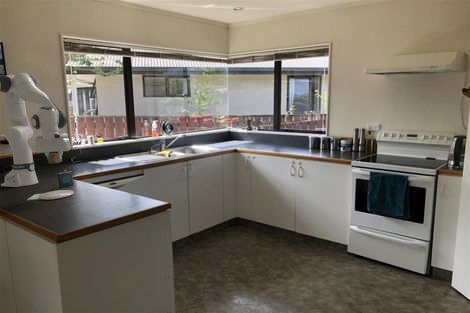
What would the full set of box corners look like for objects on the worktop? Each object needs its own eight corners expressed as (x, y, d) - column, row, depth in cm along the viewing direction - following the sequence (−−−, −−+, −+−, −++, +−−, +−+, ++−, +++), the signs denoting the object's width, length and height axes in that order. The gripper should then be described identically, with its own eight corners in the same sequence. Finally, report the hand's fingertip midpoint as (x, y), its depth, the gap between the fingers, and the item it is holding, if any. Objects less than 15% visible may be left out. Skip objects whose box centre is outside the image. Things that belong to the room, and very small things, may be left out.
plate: (31, 200, 198) (31, 198, 198) (53, 191, 215) (53, 189, 215) (60, 200, 195) (60, 198, 194) (80, 192, 212) (80, 190, 212)
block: (48, 163, 205) (47, 154, 204) (54, 161, 210) (52, 153, 209) (56, 163, 204) (55, 154, 203) (62, 161, 209) (60, 152, 208)
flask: (72, 184, 234) (70, 168, 232) (74, 185, 232) (72, 168, 230) (58, 187, 226) (56, 170, 225) (60, 188, 225) (58, 171, 223)
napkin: (27, 200, 198) (26, 199, 198) (35, 194, 210) (35, 194, 210) (42, 198, 200) (42, 198, 200) (49, 193, 211) (49, 193, 211)
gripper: (30, 137, 203) (34, 161, 205) (63, 135, 199) (67, 159, 202) (38, 135, 209) (42, 159, 211) (70, 133, 206) (74, 157, 208)
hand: (54, 159), depth 206 cm, fingers closed on block, 5 cm apart
